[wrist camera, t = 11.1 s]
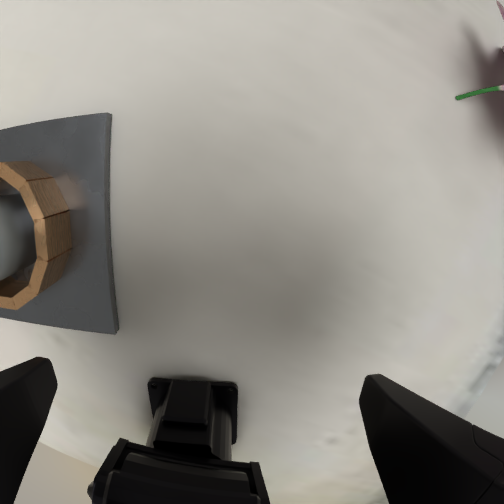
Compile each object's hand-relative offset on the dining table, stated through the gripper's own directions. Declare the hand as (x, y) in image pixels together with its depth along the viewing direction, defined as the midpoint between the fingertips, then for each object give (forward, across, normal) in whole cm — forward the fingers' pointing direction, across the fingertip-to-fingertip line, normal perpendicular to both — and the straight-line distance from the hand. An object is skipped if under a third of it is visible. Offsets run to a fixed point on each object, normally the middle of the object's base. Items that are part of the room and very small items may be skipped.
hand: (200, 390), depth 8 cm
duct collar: (+12, +14, -2) cm, 19 cm away
